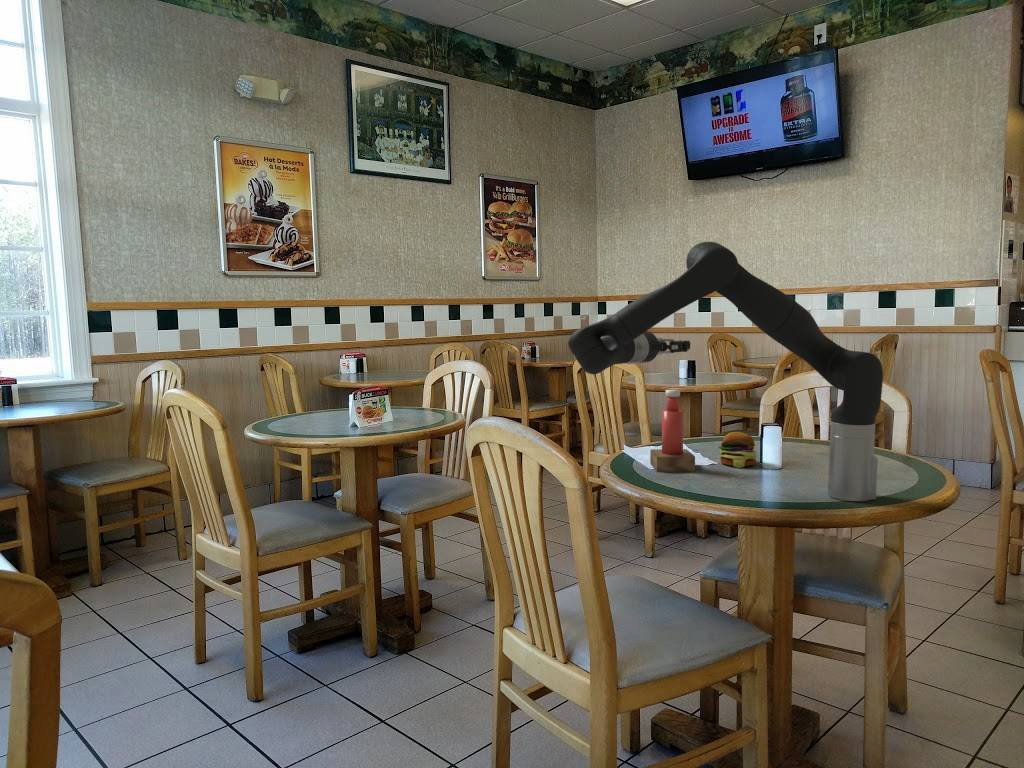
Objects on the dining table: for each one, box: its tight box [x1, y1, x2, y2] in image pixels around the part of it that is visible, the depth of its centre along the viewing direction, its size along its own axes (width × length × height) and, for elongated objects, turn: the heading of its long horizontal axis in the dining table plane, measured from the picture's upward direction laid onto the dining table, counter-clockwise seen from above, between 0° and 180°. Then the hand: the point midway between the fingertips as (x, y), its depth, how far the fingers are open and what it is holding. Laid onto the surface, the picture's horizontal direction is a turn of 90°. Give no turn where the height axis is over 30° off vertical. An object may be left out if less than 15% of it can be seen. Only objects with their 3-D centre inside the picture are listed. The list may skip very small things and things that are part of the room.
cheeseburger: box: [718, 431, 757, 469], centre depth 208 cm, size 10×11×10 cm
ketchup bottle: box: [661, 389, 684, 455], centre depth 203 cm, size 6×6×17 cm
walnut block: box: [649, 448, 696, 473], centre depth 204 cm, size 10×10×4 cm
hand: (673, 344), depth 188 cm, fingers open, 8 cm apart
